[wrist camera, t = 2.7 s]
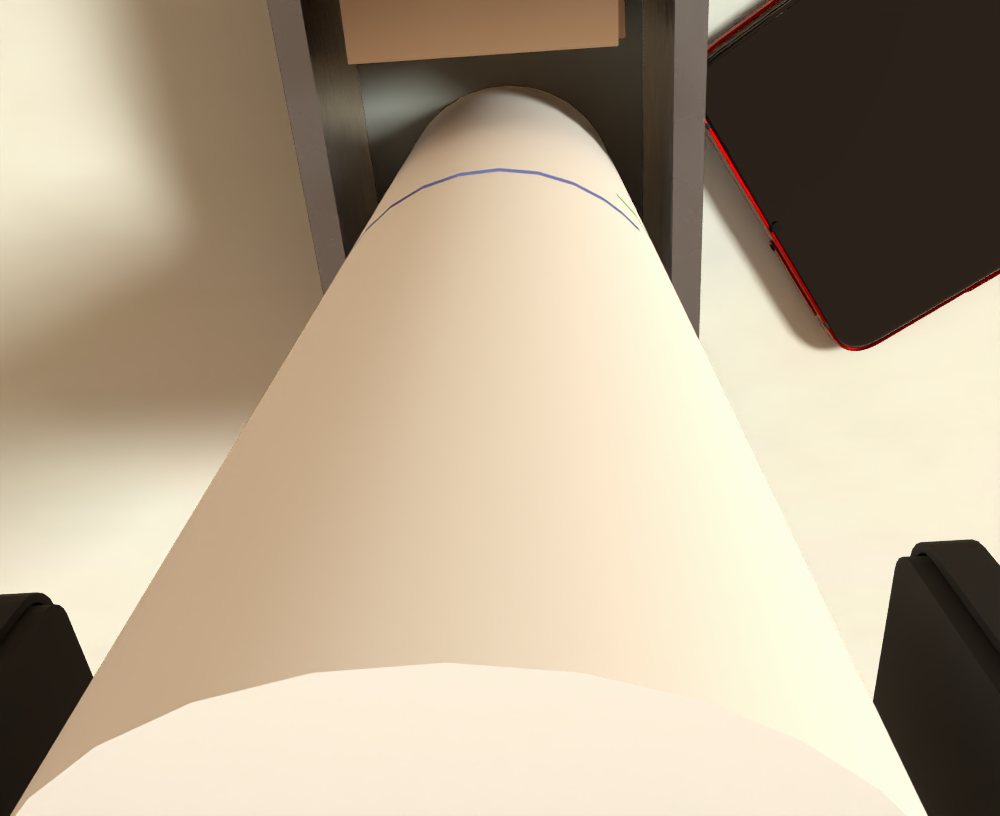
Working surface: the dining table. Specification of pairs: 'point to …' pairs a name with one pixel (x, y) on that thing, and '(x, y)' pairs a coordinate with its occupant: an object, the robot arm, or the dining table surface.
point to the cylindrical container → (485, 544)
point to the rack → (346, 154)
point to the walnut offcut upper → (473, 27)
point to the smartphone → (866, 151)
